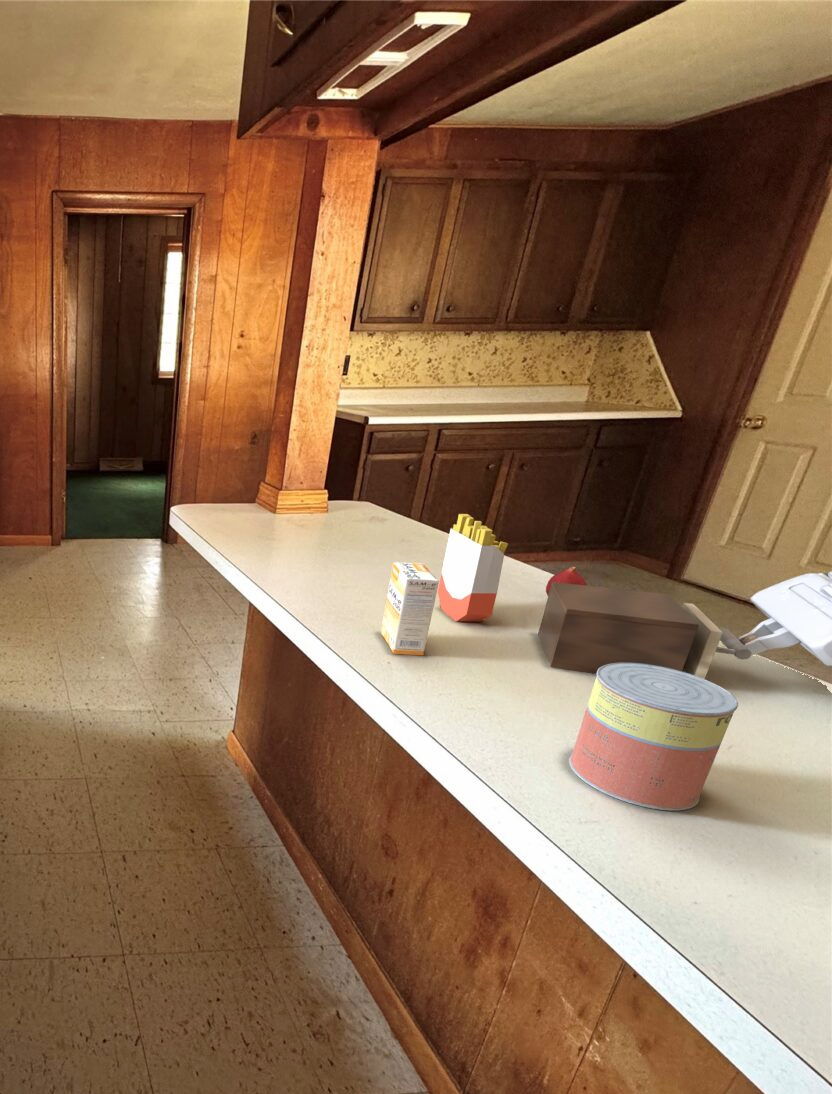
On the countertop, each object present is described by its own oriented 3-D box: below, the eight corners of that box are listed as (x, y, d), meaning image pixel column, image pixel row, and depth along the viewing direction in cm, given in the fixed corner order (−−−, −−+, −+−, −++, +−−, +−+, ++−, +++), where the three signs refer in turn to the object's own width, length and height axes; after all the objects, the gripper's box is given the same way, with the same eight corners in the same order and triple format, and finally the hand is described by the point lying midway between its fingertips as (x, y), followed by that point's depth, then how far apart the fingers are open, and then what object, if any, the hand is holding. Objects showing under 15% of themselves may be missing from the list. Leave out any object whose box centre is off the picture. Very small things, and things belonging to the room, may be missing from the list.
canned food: (724, 818, 69) (767, 719, 65) (597, 802, 72) (629, 706, 68) (661, 756, 79) (695, 667, 75) (552, 744, 82) (578, 658, 78)
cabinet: (650, 650, 104) (669, 594, 101) (676, 686, 94) (699, 624, 91) (537, 635, 111) (551, 581, 107) (550, 666, 101) (567, 608, 97)
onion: (534, 605, 123) (545, 564, 120) (553, 599, 125) (564, 559, 122) (569, 615, 118) (581, 573, 115) (588, 609, 120) (600, 568, 117)
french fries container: (460, 604, 124) (481, 511, 118) (491, 627, 114) (515, 527, 108) (434, 604, 125) (453, 511, 118) (462, 627, 115) (485, 527, 108)
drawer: (714, 655, 100) (732, 608, 97) (745, 688, 91) (766, 637, 88) (568, 635, 108) (581, 591, 105) (583, 664, 99) (598, 617, 96)
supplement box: (378, 633, 114) (391, 561, 109) (409, 635, 113) (423, 562, 108) (391, 654, 106) (405, 578, 101) (424, 656, 105) (440, 579, 100)
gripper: (816, 552, 95) (702, 605, 103) (902, 600, 78) (758, 659, 86) (847, 585, 94) (731, 636, 102) (940, 641, 78) (792, 696, 86)
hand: (743, 647), depth 94 cm, fingers closed, pressing on drawer
